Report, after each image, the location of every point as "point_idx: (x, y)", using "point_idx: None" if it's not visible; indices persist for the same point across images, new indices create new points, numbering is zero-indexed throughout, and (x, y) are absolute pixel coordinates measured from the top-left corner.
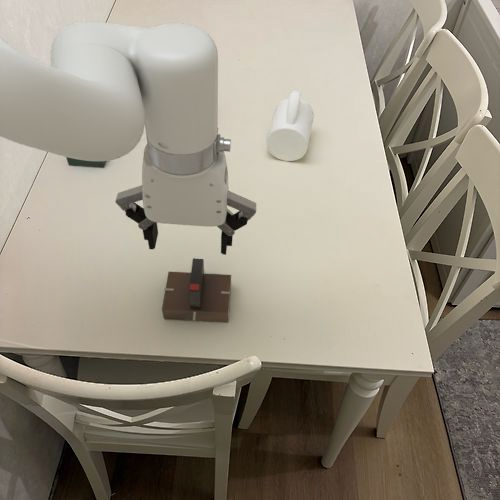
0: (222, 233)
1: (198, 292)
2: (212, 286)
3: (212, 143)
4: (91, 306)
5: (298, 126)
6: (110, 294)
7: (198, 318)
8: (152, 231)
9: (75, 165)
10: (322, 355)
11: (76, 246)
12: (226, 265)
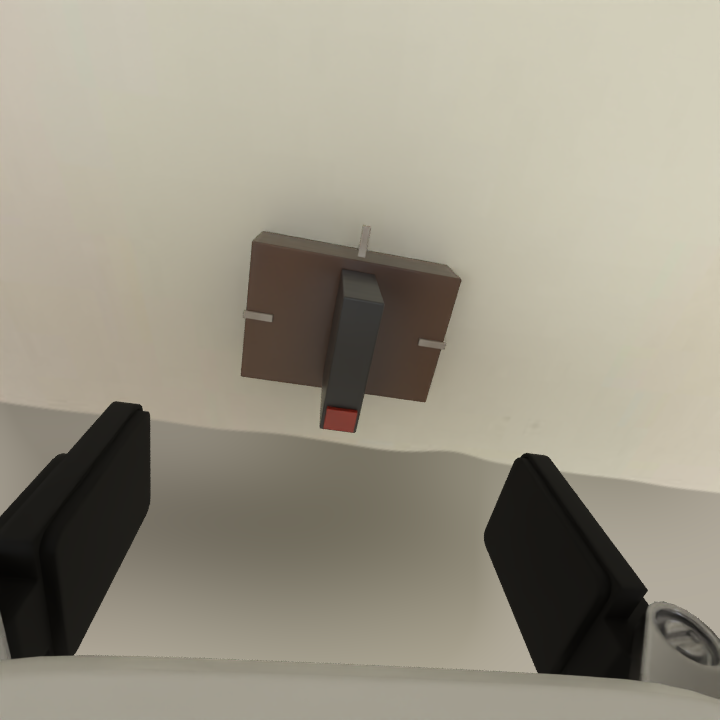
0: (557, 669)
1: (352, 432)
2: (395, 316)
3: None
4: (33, 292)
5: None
6: (79, 256)
7: None
8: (77, 638)
9: None
10: (598, 465)
11: None
12: (449, 184)
